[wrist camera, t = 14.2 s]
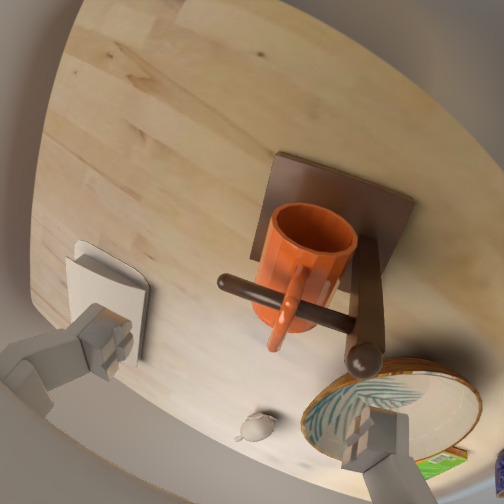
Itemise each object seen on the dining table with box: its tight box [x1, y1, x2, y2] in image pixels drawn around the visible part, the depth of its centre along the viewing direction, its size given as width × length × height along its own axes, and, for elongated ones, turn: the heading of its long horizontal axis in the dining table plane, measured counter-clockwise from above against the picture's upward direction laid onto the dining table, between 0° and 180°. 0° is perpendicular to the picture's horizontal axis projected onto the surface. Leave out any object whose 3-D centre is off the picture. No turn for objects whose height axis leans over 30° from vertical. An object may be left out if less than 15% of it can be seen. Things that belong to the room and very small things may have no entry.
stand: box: [217, 152, 414, 380], centre depth 25 cm, size 12×14×18 cm
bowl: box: [301, 357, 482, 462], centre depth 37 cm, size 25×25×8 cm
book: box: [66, 240, 149, 367], centre depth 49 cm, size 15×23×4 cm, turn 161°
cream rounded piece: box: [234, 413, 278, 442], centre depth 52 cm, size 6×5×12 cm
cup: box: [252, 202, 358, 352], centre depth 24 cm, size 10×7×8 cm
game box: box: [415, 447, 468, 480], centre depth 49 cm, size 3×10×20 cm
